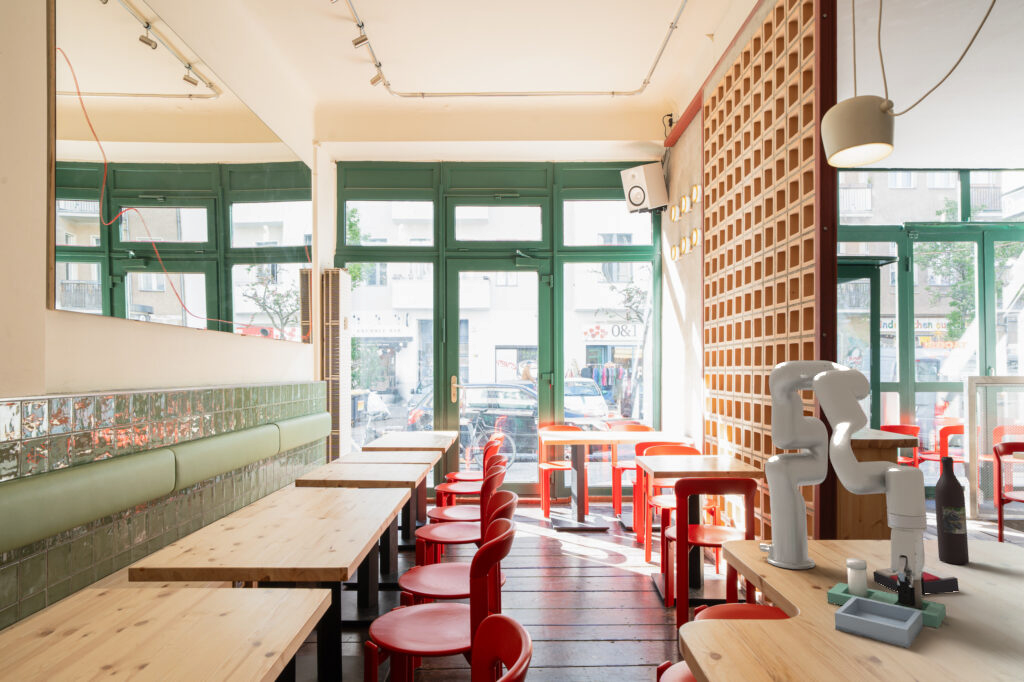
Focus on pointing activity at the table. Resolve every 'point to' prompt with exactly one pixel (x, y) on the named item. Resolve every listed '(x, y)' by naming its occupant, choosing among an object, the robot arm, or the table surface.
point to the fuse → (857, 577)
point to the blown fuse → (916, 592)
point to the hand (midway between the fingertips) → (911, 598)
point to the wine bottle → (951, 516)
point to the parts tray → (879, 621)
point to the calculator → (932, 580)
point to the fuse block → (931, 610)
